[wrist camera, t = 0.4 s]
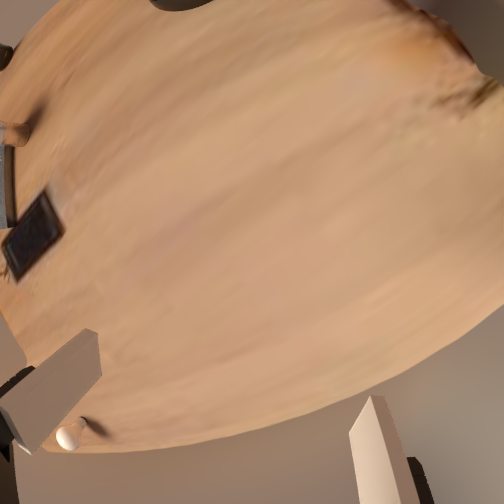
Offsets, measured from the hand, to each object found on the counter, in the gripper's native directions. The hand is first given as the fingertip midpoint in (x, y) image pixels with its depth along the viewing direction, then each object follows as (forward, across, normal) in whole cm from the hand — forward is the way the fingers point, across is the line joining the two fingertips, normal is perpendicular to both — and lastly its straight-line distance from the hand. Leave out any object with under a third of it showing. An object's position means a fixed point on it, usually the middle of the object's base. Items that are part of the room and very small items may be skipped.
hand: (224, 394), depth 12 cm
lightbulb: (+28, -35, -51) cm, 68 cm away
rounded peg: (+28, -50, +13) cm, 59 cm away
